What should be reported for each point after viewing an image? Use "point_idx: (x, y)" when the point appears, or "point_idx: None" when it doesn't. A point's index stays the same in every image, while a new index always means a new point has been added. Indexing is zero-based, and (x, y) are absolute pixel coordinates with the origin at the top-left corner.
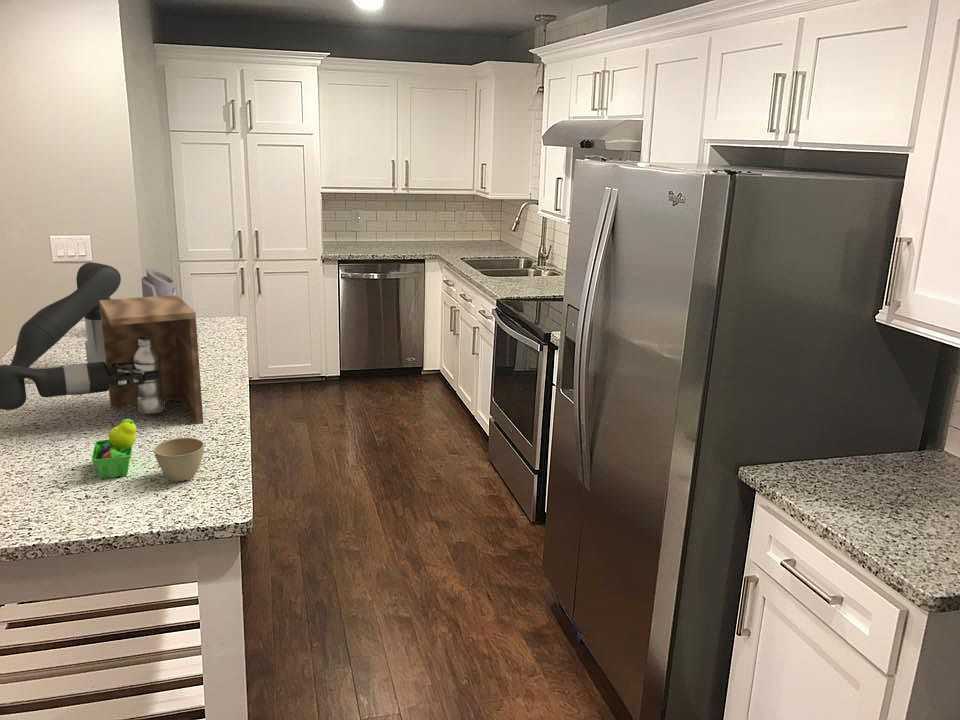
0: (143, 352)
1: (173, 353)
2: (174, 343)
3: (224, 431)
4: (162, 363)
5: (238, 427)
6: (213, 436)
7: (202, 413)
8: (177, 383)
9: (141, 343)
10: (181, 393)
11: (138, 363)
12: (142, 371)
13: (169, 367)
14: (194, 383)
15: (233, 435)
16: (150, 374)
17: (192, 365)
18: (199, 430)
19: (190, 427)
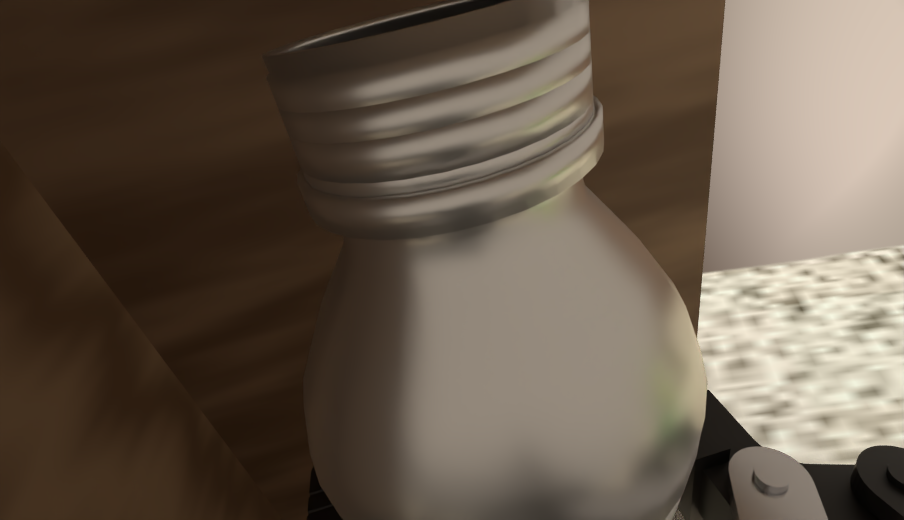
0: (629, 253)
1: (132, 345)
2: (87, 271)
3: (763, 307)
4: (138, 467)
5: (706, 281)
6: (840, 329)
7: None
8: (247, 484)
9: (577, 98)
10: None
11: (688, 469)
12: (763, 469)
13: (179, 448)
14: (705, 222)
15: (800, 280)
16: (723, 412)
17: (698, 114)
18: (780, 384)
19: (747, 425)
